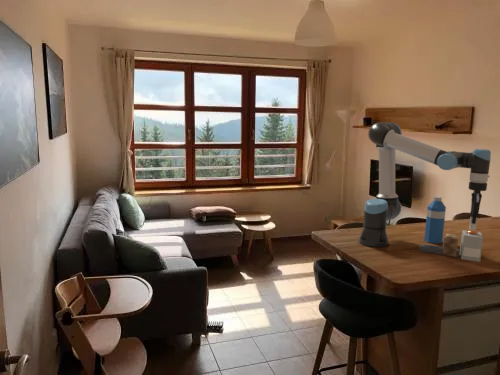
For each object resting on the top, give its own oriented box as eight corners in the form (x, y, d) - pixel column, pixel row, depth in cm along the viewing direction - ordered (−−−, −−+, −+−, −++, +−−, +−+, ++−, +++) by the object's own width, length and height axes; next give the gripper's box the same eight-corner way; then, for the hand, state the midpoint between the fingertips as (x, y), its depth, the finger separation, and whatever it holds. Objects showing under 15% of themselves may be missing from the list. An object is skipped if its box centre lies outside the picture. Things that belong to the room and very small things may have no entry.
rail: (419, 252, 204) (419, 246, 203) (419, 249, 208) (419, 243, 208) (458, 257, 197) (459, 251, 196) (457, 254, 201) (458, 248, 201)
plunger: (466, 243, 195) (467, 231, 194) (465, 241, 199) (467, 229, 198) (476, 245, 193) (478, 233, 192) (475, 242, 197) (477, 230, 196)
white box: (461, 259, 194) (464, 235, 192) (459, 253, 203) (462, 230, 201) (480, 262, 191) (483, 237, 188) (477, 255, 200) (480, 232, 198)
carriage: (442, 255, 199) (444, 236, 197) (442, 250, 205) (443, 232, 203) (456, 257, 196) (458, 238, 194) (455, 252, 203) (457, 234, 201)
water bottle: (444, 244, 217) (449, 199, 212) (426, 243, 219) (430, 198, 214) (440, 239, 226) (444, 195, 221) (422, 238, 228) (426, 195, 223)
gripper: (489, 184, 183) (482, 234, 187) (485, 180, 195) (479, 227, 199) (470, 183, 186) (464, 231, 190) (468, 179, 198) (462, 225, 202)
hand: (472, 229), depth 195 cm, fingers closed
